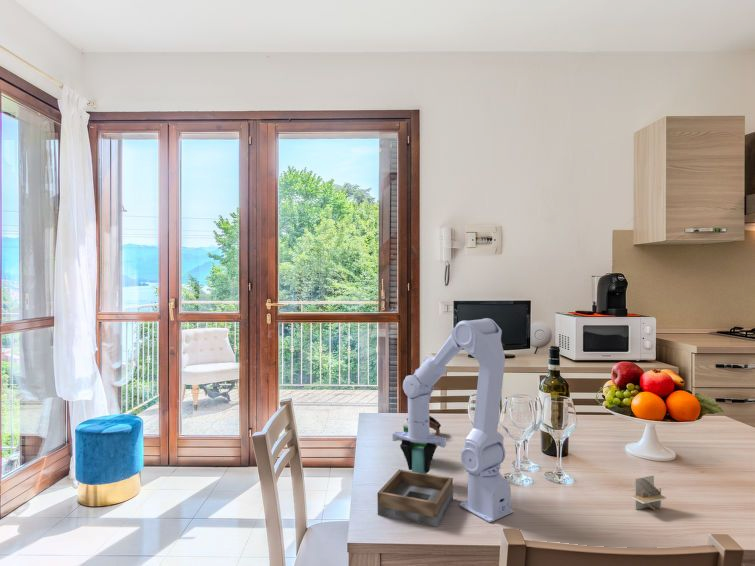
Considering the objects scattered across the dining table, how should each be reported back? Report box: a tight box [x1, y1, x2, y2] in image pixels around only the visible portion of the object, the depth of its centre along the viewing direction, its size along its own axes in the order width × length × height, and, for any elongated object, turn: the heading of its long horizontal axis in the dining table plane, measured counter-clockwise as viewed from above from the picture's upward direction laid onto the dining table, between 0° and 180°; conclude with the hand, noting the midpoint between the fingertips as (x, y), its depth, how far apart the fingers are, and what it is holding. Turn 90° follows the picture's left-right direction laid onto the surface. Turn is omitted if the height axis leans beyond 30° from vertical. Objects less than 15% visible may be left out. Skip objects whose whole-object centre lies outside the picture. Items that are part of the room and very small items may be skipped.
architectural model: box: [631, 475, 667, 511], centre depth 107 cm, size 3×7×7 cm, turn 108°
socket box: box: [376, 469, 454, 528], centre depth 110 cm, size 14×14×5 cm
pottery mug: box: [429, 415, 442, 437], centre depth 158 cm, size 12×10×8 cm
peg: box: [411, 447, 428, 474], centre depth 125 cm, size 4×4×8 cm
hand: (419, 469), depth 125 cm, fingers closed on peg, 4 cm apart
